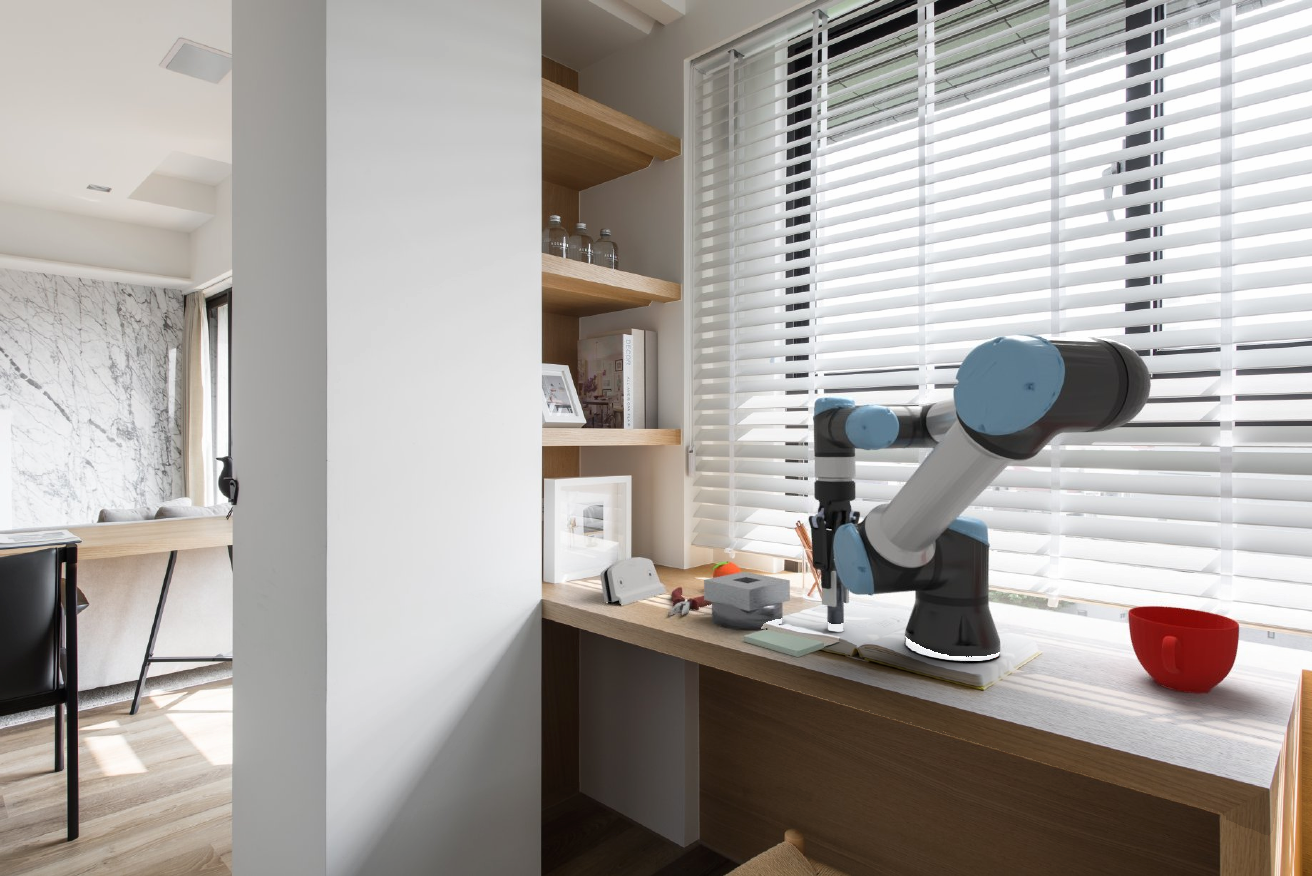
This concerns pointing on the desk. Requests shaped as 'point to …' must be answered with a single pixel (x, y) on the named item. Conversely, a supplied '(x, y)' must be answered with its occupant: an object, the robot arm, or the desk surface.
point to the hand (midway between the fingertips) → (835, 603)
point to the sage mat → (784, 642)
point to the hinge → (631, 581)
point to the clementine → (725, 569)
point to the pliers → (686, 602)
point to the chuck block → (746, 599)
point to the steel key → (837, 603)
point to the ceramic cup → (1183, 646)
